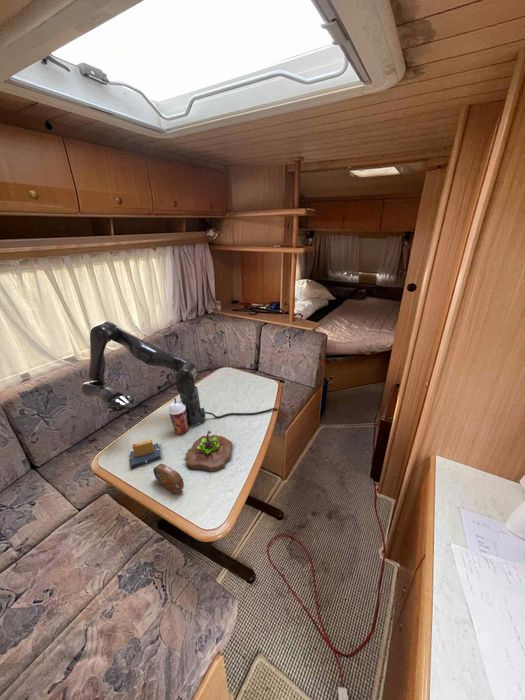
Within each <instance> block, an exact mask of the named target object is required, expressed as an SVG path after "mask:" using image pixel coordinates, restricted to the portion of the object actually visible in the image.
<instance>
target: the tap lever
mask: <svg viewBox="0 0 525 700" xmlns="http://www.w3.org/2000/svg"><path fill="white" fill-rule="evenodd" d="M153 444H154V442H153V439H148V440H146V441H140V442H137V443H132V445H131V446H132V451H134V454H135V457H139V456H142V455H146V454H150V453H154V446H153Z"/></svg>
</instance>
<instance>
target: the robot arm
mask: <svg viewBox="0 0 525 700" xmlns="http://www.w3.org/2000/svg"><path fill="white" fill-rule="evenodd" d="M111 341H112V342H115V343H117V344H119V345H121V346H123V347H124V348H125V349H126V350H127V351H128V352H129V353H130V355H131V356H132V357H133V358H134V359H136V360H137V361H139V362H142V363H144V364H146V365H148V366H153V367H162V368H167V369H170V370H172V371H174V372H175V373H174V383H175V386H176V390H177V393H178V394H179V398H180V402H182V403H183V404H184V405H185V406H186V414H187V422H188V428H189V427H190V428H193V427H194V428H195V427H197V426H199V425H200V424H203V419H206V415H211V416H213V417H214V418H216V419H221V418H224V417H227V416H232V415H234V416H235V415H237V416H244V415H245V416H250V415H251V416H252V415H259V414H262V413H268V412H270V411H272V410H275V411H278V409H277V408H276V407H271V408H269V409H266V410H261V411H256V412H230V413H225V414H223V415H220V416H219V415H216V414H214V413H213V412H209V411H206V410H205V407H202V406H201V402H200V401H201V400H200V395H199V394H200V393H199V388H198V386H196V384H195V378H196V377H197V374H198V367H197V366H196V365H195V364H193V363H192V362H189V361H188V360H184V359H183V358H179V357H177V356H174V355H172V354H170V353H169V352H166V351H164V350H163V349H160V348H158V347H156V346H155V345H153V344H151V343H149V342H147V341H145V340H142V338H139V337H137V336H135V335H134V334H131V333H129V332H128V331H126V330H124V329H123V328H121V327H119V326H118V325H117V324H115V323H113V322H110V321H101V322H100V323H98V324H95V325H94V326H92V327H91V329H90V331H89V362H88V363H89V364H88V370H87V379H88V380H89V381H86V382H83V383H82V384H81V386H80V393H81V394H82V395H83V396H84V397H87V398H90V399H96V400H99V401H101V403H102V404H104V405H106V408H107V411H108V413H113V412H122V411H123V410H126V411H128V412H132V411H133V410H135V406H134V402H135V397H134V394H133V393H131V394H130V395H126V394H123V392H120V391H118V390H117V389H115V388H112V387H109V386H107V385H106V382H105V373H106V368H107V367H106V366H107V365H106V364H107V363H106V358H105V350H106V347H107V345H108V343H110V342H111Z"/></svg>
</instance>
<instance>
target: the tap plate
mask: <svg viewBox="0 0 525 700" xmlns="http://www.w3.org/2000/svg"><path fill="white" fill-rule="evenodd" d="M153 446H154V453H150V454H146V455H142V456H139V457H135V454H134V451H133V450H131V451H129V456H130V458H129V459H130V467H131V469H132V470H133V469H136V468H139V467H142V466H145V465H148V464H151V463H153V462H156V461H159V460H162V457H161V451H160V446H159V442H157V443H153Z"/></svg>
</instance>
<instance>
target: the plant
mask: <svg viewBox="0 0 525 700" xmlns="http://www.w3.org/2000/svg"><path fill="white" fill-rule="evenodd" d="M210 434H212V431H211V430H208V431H207V434H206V435H201V436H200V437H198V439H197V440H195V441H194V442H193V444H192V446H191V447H190V448H189V449H187V453H186V454H185V457H186V460H185V463H186V465H187V467H188V468H190V469H191V470H205V471H208V472H215V471H219V470H222V469H224V468H225V466H226V463H228V462H229V461H231V456H232V450H233V442H232V441H231V440H229V439H228V438H226V437H225V436H222V435H218V434H212V435H210Z"/></svg>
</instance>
